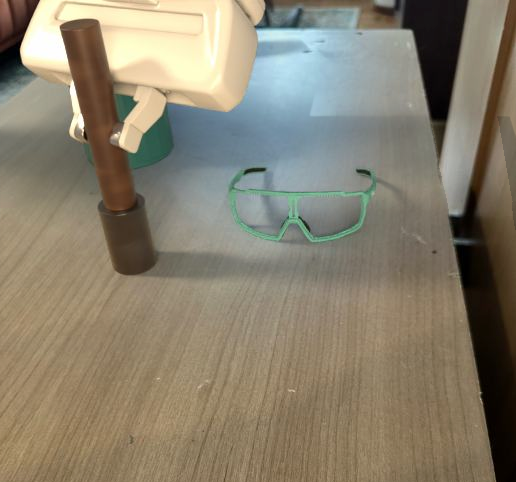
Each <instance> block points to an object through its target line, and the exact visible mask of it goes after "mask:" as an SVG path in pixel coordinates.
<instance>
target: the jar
mask: <svg viewBox="0 0 516 482" xmlns="http://www.w3.org/2000/svg"><path fill="white" fill-rule="evenodd" d="M70 87H71V86H68V89H69V90H70ZM115 97H116V101H117V106H118V111H119V115H120V120H121V122H123V121H124V120H125V119H126V118H127V116H128V115H129V114H130V112H131V111H132V110H133V109H134V107H135V106H136V105H137V102H135V101H134V99H133V98H134V97H133V96H127V95H121V94H115ZM82 144H83V147H84V151H85V154H86V157H87V160H88V162H89V163H90V164H92V165H93V166H94V162H93V159H92V155H91V151H90V147H89V144H88V143H84V142H82ZM173 149H174V141H173V133H172V126H171V120H170V113H169V107H168V102H166V105H165V108H164V111H163V114H162V116H161V117H160V118H159V119H158V120H157V121H156V122H155V123H154V124H153V125H152V126H151V127H150V128H149V129H148V130H147V131H146V132H145V133H143V135H142V138H141V141H140V144H139V147H138V150H137V152H136V153H129V152H127V153H128V157H129V162H130V167H131V170H134V169H138V168H143V167H147V166H150V165H153V164H155V163H158V162H159V161H161V160H163V159H165V158H166V157H168V156H169V155H170V154H171V152H172V151H173Z"/></svg>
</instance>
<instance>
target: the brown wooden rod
mask: <svg viewBox="0 0 516 482" xmlns="http://www.w3.org/2000/svg"><path fill="white" fill-rule="evenodd" d="M59 28H60V32H61V36H62V40H63V44H64V48H65V52H66V56H67V60H68V64H69V68H70V72H71V76H72V80H73V84H74V87H75V91H76V95H77V99H78V103H79V107H80V111H81V115H82V119H83V123H84V127H85V131H86V135H87V139H88V143H89V147H90V151H91V155H92V159H93V162H94V165H93V166H94V171H95V173H96V178H97V183H98V187H99V190H100V194H101V198H102V199H100V201H99V202H98V204H97V211H98V216H99V219H100V223H101V227H102V231H103V234H104V238H105V243H106V245H107V251H108V253H109V257H110V261H111V265H112V268H113V270H114V271H115V272H117V273H118V274H121V275H126V276H130V275H131V276H133V275H134V276H135V275H139V274H142V273H143V274H144V273H146V272H147V271H149V270H151V269H152V268H153V267H154V266H156V264H157V260H158V256H157V252H156V247H155V242H154V237H153V233H152V228H151V227H152V226H151V222H150V218H149V213H148V208H147V204H146V199H145V197H144V196H143V195H142V194H140V193H139V192H137V190H136V185H135V181H134V177H133V172H132V169H131V167H130V162H129V157H128V153H127V152H125V151H121V150H118V149H117V148H116V147H113V146H112V145H111V144H110V141H109V140H110V135H111V134H112V133H113V130H112V129H113V126H114V124H115V121H118V122H121V120H120V115H119V111H118V106H117V101H116V97H115V92H114V87H113V82H112V78H111V73H110V68H109V64H108V59H107V54H106V50H105V45H104V40H103V36H102V31H101V26H100V22H99V21H98V20H97V19H91V18H84V19H76V20H71V21H68V22H65V23H63V24H61V25H60V27H59Z"/></svg>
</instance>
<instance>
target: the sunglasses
mask: <svg viewBox="0 0 516 482" xmlns="http://www.w3.org/2000/svg"><path fill="white" fill-rule="evenodd" d="M267 171H268V167H267V166H249V167H244V168H242V169H240V170H239V171H238V172H237V173H236V174H235V175H234V176H233V178H232V179H231V180H230V181H229V184H228V200H229V203H230V208H231V209H230V210H231V213H232V216H233V218H234V220H235V223H236V224H237V225H238V226H239V227H240V228H241V229H242V230H244V231H245V232H247V233H249V234H250V235H252V236H256V237H258V238H261V239H264V240H267V241H268V240H269V241H274V242H276V241H277V242H278V241H280V240H281V239H282V238H283V237H284V235H285V233H286V231H287V228H288V227H289V225H290V224H297V225H298V227H299V228H300V230H301V231H302V233H303V234H304V236H305V237H306V239H308V241H309V242H311V243H321V242H327V241H332V240H337V239H340V238H343V237H346V236H348V235H350V234H353V233H355V232H356V231H357V230H359V229H360V228H362V226H363V223H364V222H365V221H364V220H365V218H366V214H367V205H368V203H370V201H371V200H373V198H374V197H375V194H376V191H377V177H376V174H375V172H374V171H373V170H372V169H370V168H366V167H357V168H355V173H356V174H357V175H360V176H367V177H369V178H370V179H371V181H372V183H371V185H370V187H368V188H367V189H366V190H365V191H363V190H358V191H357V190H356V191H349V192H344V191H342V190H329V191H325V190H324V191H285V190H283V191H282V190H266V189H256V188H248V189H246V190H245V189H239V188H235V185H236V184H237V183H239V182H240V180H242V178H243V177H246V176H248V175H252V174H264V173H267ZM236 194H242V195H250V194H252V195H260V196H261V195H262V196H273V197H275V196H276V197H286V198H287V200H288V208H289V209H288V216H287V217H286V219H285V220H284V221H283V222H282V223H281V226H280V230H279V232H278V234H277V235H272V234H267V233H264V232H261V231H260V232H259V231H258V230H255V229H254V228H252V227H250V226H248V225H247V224H246V223H245V222H243V221H242V220H241V219H240V216H239V214H238V211H237V210H238V209H237V205H236ZM339 195H340V196H341V197H344V198H345V197H354V196H360V207H361V209H360V216H359V220H358V222H357V223H356V224H354V225H353V226H351V227H349V228H347V229H345V230H343V231H341V232H337V233H334V234H329V235H325V236H313V235H312V234H311V227H310V226H309V223H308V222H307V221H306V220H305V219H303V217H301V216H300V215H299V199H300V198H301V197H338V196H339ZM293 201H294V215H293Z"/></svg>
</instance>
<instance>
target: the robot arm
mask: <svg viewBox="0 0 516 482" xmlns="http://www.w3.org/2000/svg"><path fill="white" fill-rule="evenodd" d="M265 10H266V2H265V0H39V2H38V4H37V6H36V8H35V10H34V13H33V15H32V17H31V19H30V22H29V24H28V26H27V28H26V31H25V33H24V37H23V39H22V41H21V45H20V48H19V53H20V59H21V63H22V65H23V66H24V67H25V68H26V69H28V70H29V71H30V72H32V73H33V74H35V75H36V76H38V77H39V78H41V79H42V80H44V81H46V82H48V83H51V84H58V85H63V86H68V87H69V86H71V87H70V89H69V94H70V99H71V106H72V112H73V117H72V120H71V124H70V127H69V129H68V133H69V136H70V137H71V138H73V139H74V140H76V141H78V142H80V143H83V142H84V143H88V139H87V135H86V131H85V127H84V123H83V119H82V115H81V111H80V107H79V103H78V99H77V95H76V91H75V87H74V84H73V80H72V76H71V72H70V68H69V64H68V60H67V56H66V52H65V48H64V44H63V40H62V36H61V32H60V28H59V27H60V25H61V24H63V23H65V22H68V21H71V20H76V19H84V18H91V19H97V20H98V21H99V22H100V26H101V31H102V36H103V40H104V45H105V50H106V54H107V59H108V64H109V68H110V73H111V78H112V82H113V87H114V92H115V94H121V95H127V96H133V97H134V98H133V99H134V101H135V102H137V105H136V106H135V107H134V109H133V110H132V111H131V112H130V114H129V115H128V116H127V118H126V119H125V120H124V121H123V122H118V121H115V124H114V126H113V129H112V130H113V133H112V134H111V135H110V140H109V141H110V144H111V145H112V146H113V147H116V148H117V149H118V150H121V151H125V152H129V153H136V152H137V150H138V147H139V144H140V141H141V138H142V135H143V133H145V132H146V131H147V130H148V129H149V128H150V127H151V126H152V125H153V124H154V123H155V122H156V121H157V120H158V119H159V118H160V117H161V116H162V114H163V111H164V108H165V105H166V102H167V104H168V103H170V104H174V105H175V104H176V105H180V106H186V107H193V108H198V109H203V110H209V111H210V110H211V111H216V112H221V113H229V112H231V111H232V110H233V109H235V108H236V107H237V106H238V105H239V104H241V102H242V101H243V100H244V97H245V95H246V92H247V89H248V87H249V83H250V80H251V77H252V73H253V69H254V65H255V61H256V56H257V51H258V47H259V36H258V32H257V29H256V27H255V26H257V25H258V24H259V23H260V22H261V21H262V18H263V16H264V14H265ZM88 144H89V143H88Z"/></svg>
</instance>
